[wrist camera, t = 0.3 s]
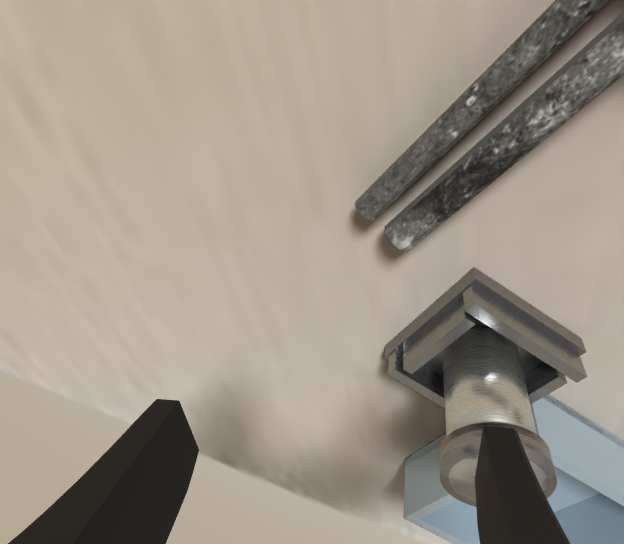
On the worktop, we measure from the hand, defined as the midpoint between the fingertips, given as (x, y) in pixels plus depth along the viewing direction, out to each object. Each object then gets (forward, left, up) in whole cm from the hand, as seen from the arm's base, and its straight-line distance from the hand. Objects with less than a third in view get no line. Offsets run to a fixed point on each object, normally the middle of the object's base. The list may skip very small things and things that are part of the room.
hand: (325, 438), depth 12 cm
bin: (-16, +7, -10) cm, 20 cm away
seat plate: (-8, +2, -10) cm, 13 cm away
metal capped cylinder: (-8, +2, -9) cm, 12 cm away
